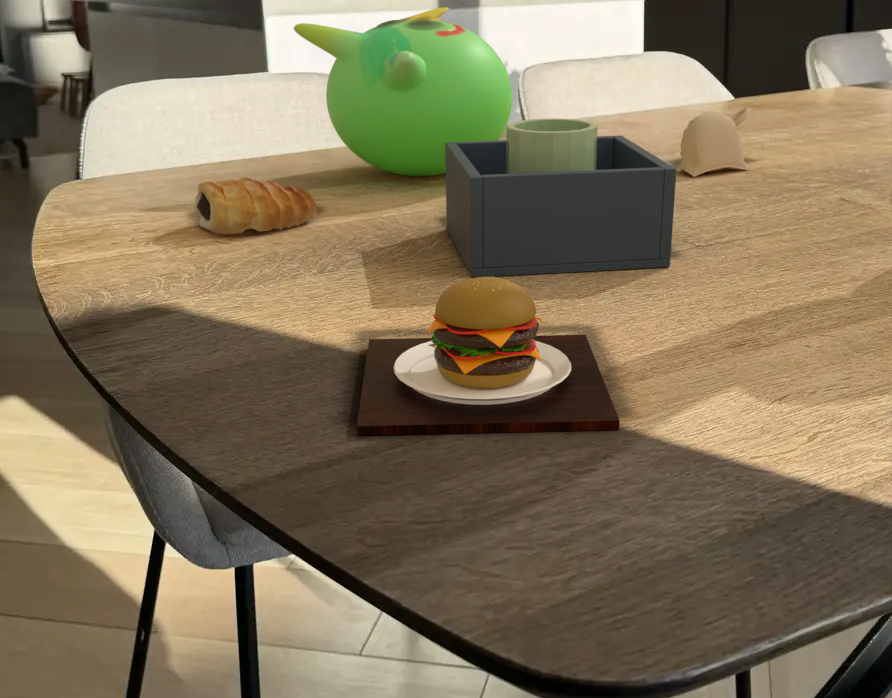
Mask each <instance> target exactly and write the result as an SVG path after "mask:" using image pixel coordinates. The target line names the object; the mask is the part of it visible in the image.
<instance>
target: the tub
mask: <svg viewBox="0 0 892 698" xmlns="http://www.w3.org/2000/svg"><path fill="white" fill-rule="evenodd" d="M598 127H599V125H598V124H596V123H595V122H594V121H590V120H584V119H574V118H555V117H553V118H551V117H550V118H531V119H522V120H517V121H513V122H510V123H507V126H506V128H505V131H506V133H505V134H506V136H505V137H506V139H505V140H506V174H515V173H538V172H561V171H585V170H596V156H597V136H598V130H599V129H598Z"/></svg>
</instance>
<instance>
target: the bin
mask: <svg viewBox="0 0 892 698" xmlns="http://www.w3.org/2000/svg"><path fill="white" fill-rule="evenodd" d="M445 163H446V173H445V205H446V206H445V208H446V210H445V211H446V216H445V217H446V231H447V232H448V234H449V235H450V239H451V240H452V242H453V244H454V246H455V248H456V250H457V251H458V253H459V256H460V257H461V260H462V261H463V263H464V265H465V267H466V269H467V271H468V273H469V275H470V277H471V278H478V277H510V276H527V275H528V276H529V275H548V274H564V273H583V272H603V271H621V270H639V269H640V270H641V269H642V270H643V269H661V268H670V267H671V256H672V243H673V241H672V240H673V229H674V228H673V227H674V226H673V225H674V213H675V212H674V211H675V197H676V185H677V184H676V182H677V181H676V180H677V168H675V167H674V166H672V165H671V164H669V163H667V161H664V160H662V159H660V157H658V156H656V155H654V154H653V153H651V152H649V151H648V150H646V149H644V148H643V147H641V146H640V145H638V144H637V143H635V142H633V141H631V140H629V139H628V138H627V137H625V136H624V135H599V136H598V135H597V156H596V170H585V171H561V172H538V173H515V174H506V139H499V140H495V141H470V142H456V143H455V142H446V143H445Z"/></svg>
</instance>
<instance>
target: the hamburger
mask: <svg viewBox="0 0 892 698" xmlns="http://www.w3.org/2000/svg"><path fill="white" fill-rule="evenodd" d="M536 314H537V308H536V304H535V302H534V300H533V298H532V296H531V295H530V294H529V292H528V291H527V290H525V289H524V288H523V287H521V286H520V285H518V284H516V283H514V282H513V281H511V280H508V279H505V278H501V277H497V276H491V277H471V278H468V279H465V280H462V281H459V282H457V283H454V284H451V286H449V287H448V288H446V289H445V290H444V291H443V292H442V293H441V295H440V296H439V298H438V299H437V302H436V305H435V310H434V314H433V321H432V323H431V325H430V326H429V328H428V331H427V332H428V334H431V333H432V336H431V337H411V338H409V337H408V338H407V337H406V338H404V337H403V338H402V337H401V338H369V339H368V344H367V351H366V359H365V364H364V373H363V380H362V385H361V394H360V401H359V408H358V413H357V422H356V436H393V435H396V436H397V435H437V434H440V435H441V434H443V435H444V434H483V433H484V434H486V433H490V434H491V433H528V432H529V433H531V432H573V431H574V432H576V431H577V432H579V431H581V432H583V431H619V430H620V418H619V415H618V412H617V411H616V408H615V406H614V403H613V401H612V397H611V395H610V393H609V391H608V388H607V385H606V383H605V380H604V378H603V375H602V373H601V370H600V368H599V364H598V363H597V360H596V358H595V355H594V352H593V350H592V346H591V344H590V342H589V340H588V338H587V334H551V335H550V334H549V335H548V334H547V335H546V334H545V335H537V333H538V331H539V329H540V324H539V322H540V323H543V320H542V318H540V317H539V316H537V315H536ZM538 321H539V322H538Z"/></svg>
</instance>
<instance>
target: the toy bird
mask: <svg viewBox="0 0 892 698" xmlns="http://www.w3.org/2000/svg"><path fill="white" fill-rule="evenodd" d="M448 10H450V8H449V7H448V6H447V7H446V6H445V7H438V8H433V9H430V10H426V11H423V12H420V13H416V14H414V15H411V16H408V17H405V18H400V19H391V20H388V21H384V22H381V23H379V24H377V25H376V26H374V27H372V28H369V29H368V30H366V31H364V32H360V31H353V30H348V29H342V28H338V27H332V26H327V25H322V24H315V23H307V22H304V23H301V22H300V23H297V24H295V25H294V26H293V30H294V32H295V33H296V34H297V35H298V36H299V37H301V38H303V39H304V40H305V41H307V42H309V43H310V44H313V45H314V46H316V47H317V48H319V49H320V50H322V51H323V52H325V53H328V54H329V55H331V56H332V57H333V58H334V59H335V60H334V62H333V64H332V66H331V69H330V72H329V75H328V79H327V83H326V91H325V93H326V95H325V99H326V108H327V113H328V116H329V119H330V121H331V124H332V126H333V128H334V130H335V132H336V134H337V136H338V137H339V138H340V140H341V141H342V143H343V144H344V145H345V146H346V147H347V148H348V149H349V150H350V151H351V152H352V153H353V154H354V155H356V156H357V157H358V158H359V159H361V160H362V161H364V162H365V163H367V164H369V165H371V166H373V167H375V168H378V169H379V170H382V171H384V172H387V173H390V174H391V173H392V174H396V175H400V176H408V177H409V176H411V177H428V176H429V177H430V176H438V175H444V174H446V163H445V143H446V142H455V143H456V142H470V141H495V140H501V137H502V136H503V134H504V133H505V131H506V127H507V125H508V124H509V120H510V117H511V112H512V106H513V90H512V84H511V80H510V76H509V74H508V71H507V69H506V66H505V63H504V62H503V61H502V59H501V57H500V56H499V54H498V53H497V52H496V50H494V48H493V47H492V46H491V45H490V44H489V43H488V42H487V41H486V40H485V39H483V38H482V37H481V36H480V35H478V34H476V33H475V32H473V31H472V30H469V29H468V28H466V27H464V26H461V25H458V24H456V23H453V22H449V21H445V20H440V19H439V18H440V17H441V16H442V15H444V14H445V13H447V12H448Z"/></svg>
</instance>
